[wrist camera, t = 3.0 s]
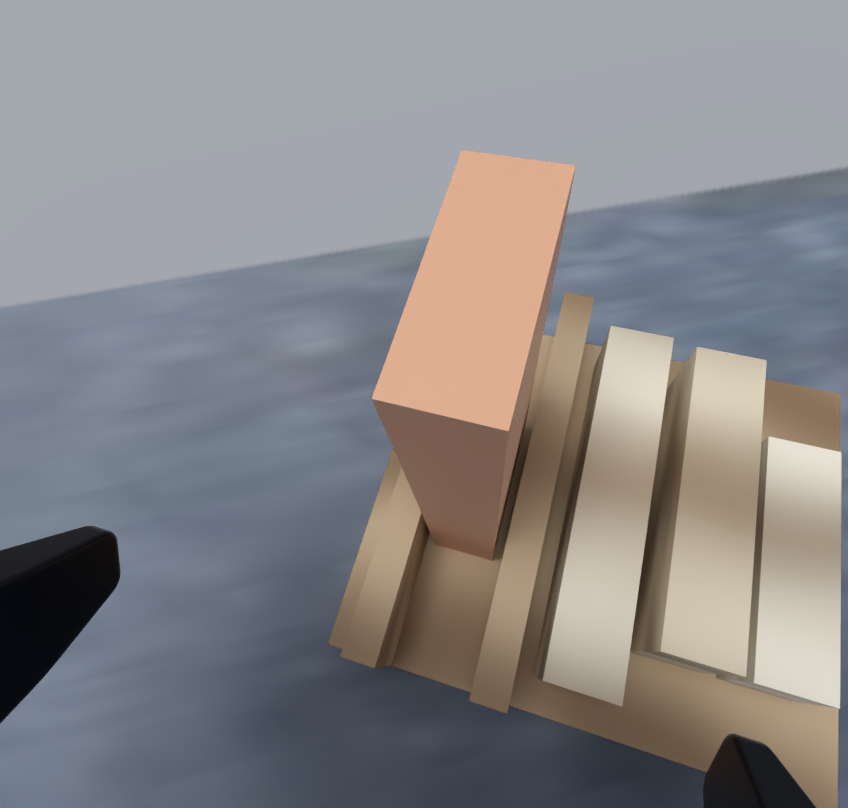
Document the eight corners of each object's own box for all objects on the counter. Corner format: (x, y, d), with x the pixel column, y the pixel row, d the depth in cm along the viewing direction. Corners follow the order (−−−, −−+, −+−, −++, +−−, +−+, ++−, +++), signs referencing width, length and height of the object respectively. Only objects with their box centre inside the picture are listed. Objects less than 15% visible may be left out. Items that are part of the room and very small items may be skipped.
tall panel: (492, 560, 18) (508, 431, 7) (435, 544, 19) (371, 399, 8) (524, 426, 20) (575, 165, 9) (472, 414, 21) (461, 150, 10)
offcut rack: (807, 802, 16) (935, 862, 12) (338, 644, 19) (294, 642, 15) (817, 410, 21) (910, 344, 16) (440, 333, 24) (430, 258, 19)
